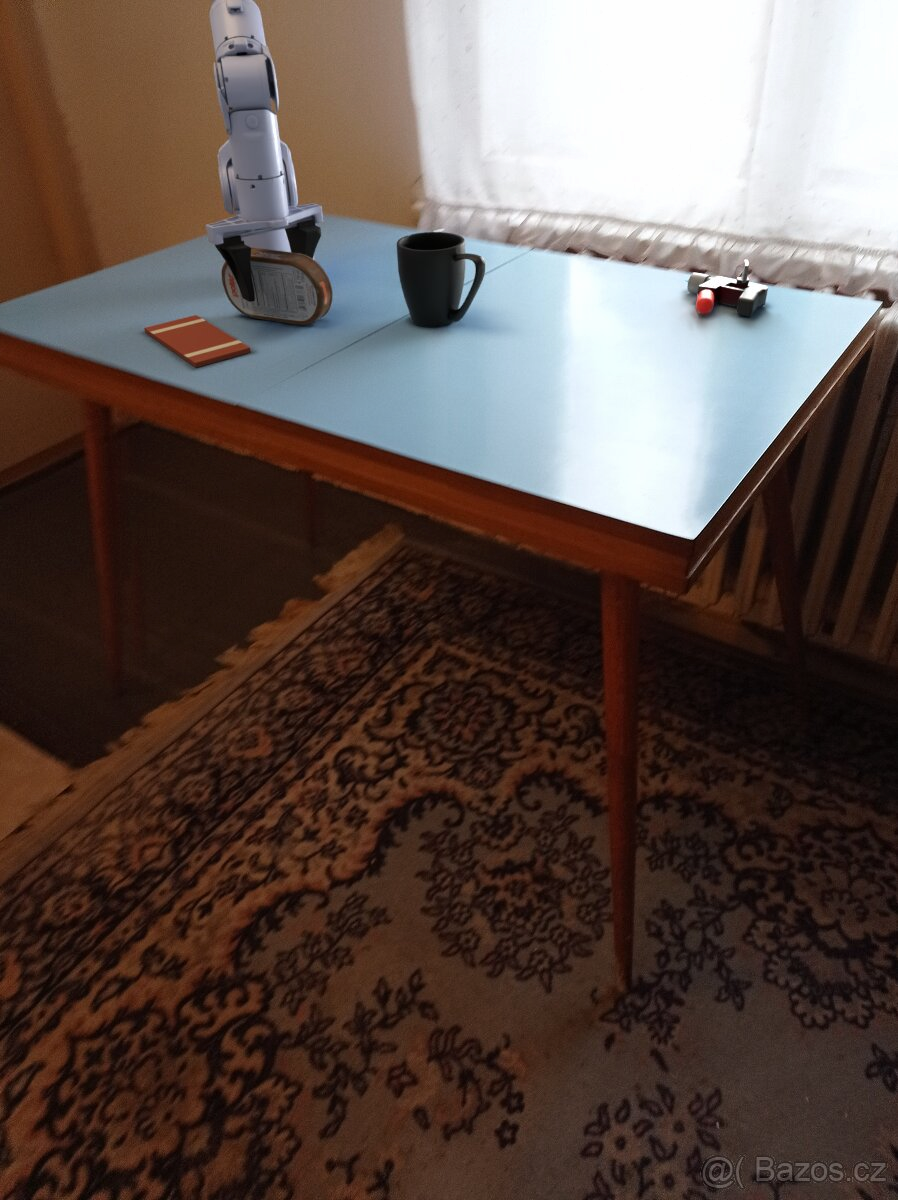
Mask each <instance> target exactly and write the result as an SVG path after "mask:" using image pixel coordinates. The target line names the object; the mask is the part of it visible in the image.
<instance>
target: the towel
mask: <svg viewBox="0 0 898 1200" xmlns="http://www.w3.org/2000/svg"><path fill="white" fill-rule="evenodd" d="M143 330H144V333H145V334H147V335H148V336H150V338H152V339H154V341H155V340H156V341H157V342H158V343H160V344H161V345H162V346H164V347H166V348H167V349H168V350H170V351H171V352H173V353H174V354H176V355H177V356H178V357H180V358H181V359H183V360H184V361H186V362H187V363H189V364H190V365H192V366H193V367H194V368H201V367H203V366H207V365H210V364H214V363H218V362H220V361H225V360H228V359H232V358H235V357H239V356H242V355H246V354H249V353H252V350H251V347H250V346H249V345H247V344H245V343H244V342H243V341H241V340H240V339H237V338H235V337H233V336H232V335H230V334H228V333H227V332H225V331H223V330H222V329H220V328H218V327H217V326H215V325H213V324H212V323H211V322H209V321H207V320H206V319H205V318H202V317H200V316H198V315H197V314H194V315H191V316H185V317H182V318H177V319H175V320H171V321H167V322H163V323H162V322H161V323H159V324H155V325H150V326H146V327H144V328H143Z"/></svg>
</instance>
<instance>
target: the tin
mask: <svg viewBox="0 0 898 1200" xmlns="http://www.w3.org/2000/svg"><path fill="white" fill-rule="evenodd" d="M220 274H221V283H222V286H223V289H224V292H225V295H226V297H227V299H228V301H229V303H231V305H232V306H233V307H234V308H235V309H236V310H237V311H238V312H240V313H241V314H242V315H244V316H246V317H249V318H252V319H257V320H265V321H270V322H278V323H284V324H291V325H297V326H307V325H311V324H313V323H315V322H316V321H318V320H319V319H321V318H323V317H324V316H326V315H327V314H328V312H329V311H330V310H331V307H332V304H333V299H334V298H333V296H334V295H333V294H334V293H333V287H332V283H331V280H330V278H329V276H328V274H327V273H326V270H325V269H324V268H323V267H322V265H320V264H319V263H318V261H316V260H315V259H314V260H313V259H312V258H310V257H309V256H306V255H304V254H300V253H292V252H284V251H276V250H268V249H261V248H254V247H251V275H252V281H253V287H254V292H255V301H252V302H249V301H247V300H245V299H243V298H242V295H241V292H240V289H239V287H238V284H237V282H236V280H235V277H234V275H233V273H232V271H231V270H230V268H229V266H228V264H227V263H226V261H225V260H224V263H223V265H222V267H221V273H220Z"/></svg>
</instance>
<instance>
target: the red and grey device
mask: <svg viewBox="0 0 898 1200" xmlns="http://www.w3.org/2000/svg"><path fill="white" fill-rule="evenodd" d="M749 261H750V260H749V259H748V258H747V259H746V258H745V259H744V260H743V266H742V272H741V276H737V277H736V279H735V278H730V277H726V276H720V275H716V276H715V277H712V276H711V275H709V274H704V273H700V272H692V273H691V275H690V276H689V278H688V279H687V280H684V281H685V282H686V283H687V286H686V287H687V291H688V293H692V294H696V302H695V309H696V311H697V312H698V313H699V314H701V315H708V314H709V313H710V312H712V310H713V308H714V305H715V304H717V303H719V304H724V305H728V306H732V307H735V308H736V314H737V315H741V316H745V317H751V316H752V315H753V314H754V313H755V311H756V309H757V308H759V307H764V306H765V305H766V301H767V296H768V292H769V291H768V290H769V287H768V286H767V285H765V284H760V283H755V282H750V278H749V277H748V274H749V267H750V262H749Z"/></svg>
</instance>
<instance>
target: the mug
mask: <svg viewBox="0 0 898 1200" xmlns="http://www.w3.org/2000/svg"><path fill="white" fill-rule="evenodd" d="M396 256H397V272H398V278H399V283H400V286H401V291H402V295H403V299H404V301H405V304H406V307H407V309H408V312H409V315H410V318H411V322H412V323H413V324H414V325H417V326H419V327H425V328H438V327H445V326H448V325H451V324H452V323H455V322H458V321H460V320H461V319H462V318H464V316H466V313H467V312H468V310H469V308H470V307H471V306H472V303H473V301H474V299H475V297H476V296H477V293H478V291H479V289H480V287H481V285H482V284H483V283H482V282H483V281H484V277H485V275H486V260H485V259H484V257H483V256H482V255H479V254H475V253H469V252H467V253H466V241H465V238H464V237H463V236H461V235H459V234H456V233H452V232H445V231H442V232H433V231H426V232H425V231H424V232H418V233H417V232H416V233H412V234H407V235H405V236H403V237H400V238H399V239H398V240H397V241H396ZM466 260H469V261H472V263H473V264H474V267H475V268H474V269H475V270H474V278H473V281H472V284H471V286H470V289H469V291H468V293H467V295H466V297H465V299H464V300H463V303H462V305H461V306H460V302H461V299H462V294H463V290H464V286H465V285H464V284H465V277H466Z"/></svg>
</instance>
